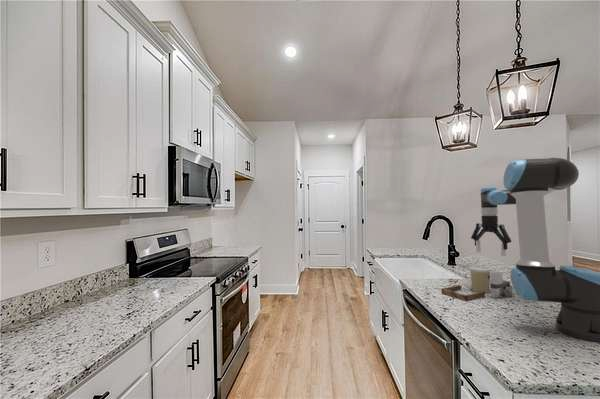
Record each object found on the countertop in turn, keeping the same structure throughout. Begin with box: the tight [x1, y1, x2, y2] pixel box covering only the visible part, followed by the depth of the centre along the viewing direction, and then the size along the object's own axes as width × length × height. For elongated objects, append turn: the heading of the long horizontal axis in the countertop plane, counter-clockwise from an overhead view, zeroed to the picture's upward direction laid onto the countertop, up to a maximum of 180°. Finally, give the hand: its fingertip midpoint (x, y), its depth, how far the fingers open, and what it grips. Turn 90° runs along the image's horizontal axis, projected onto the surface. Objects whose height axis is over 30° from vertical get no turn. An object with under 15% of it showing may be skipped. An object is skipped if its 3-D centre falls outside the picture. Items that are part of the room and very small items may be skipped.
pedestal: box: [499, 285, 513, 298], centre depth 146 cm, size 5×5×5 cm
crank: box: [490, 271, 511, 290], centre depth 145 cm, size 12×4×7 cm, turn 115°
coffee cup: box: [469, 266, 491, 294], centre depth 155 cm, size 9×9×12 cm
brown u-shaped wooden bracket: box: [441, 284, 486, 302], centre depth 149 cm, size 14×14×2 cm
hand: (490, 253), depth 159 cm, fingers open, 13 cm apart
